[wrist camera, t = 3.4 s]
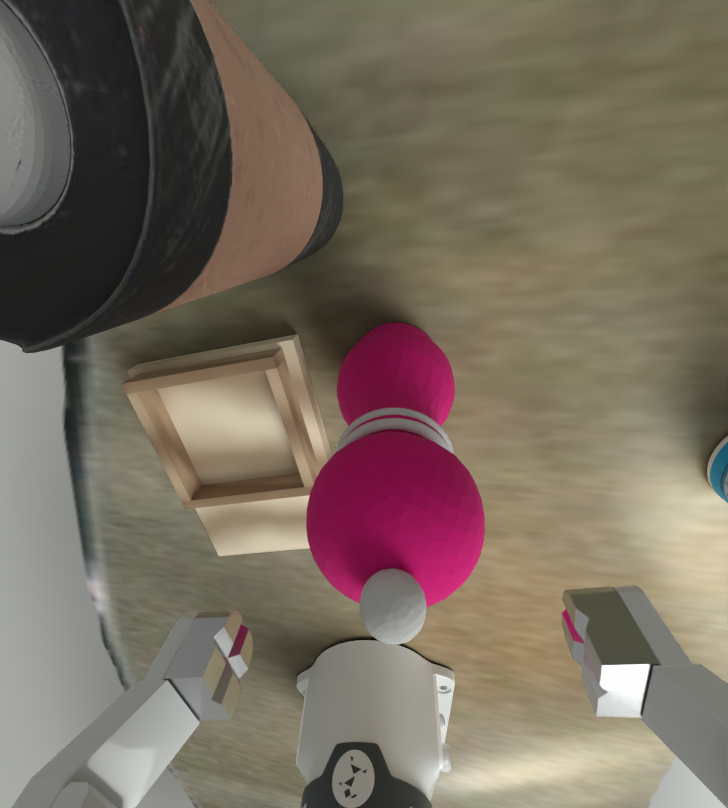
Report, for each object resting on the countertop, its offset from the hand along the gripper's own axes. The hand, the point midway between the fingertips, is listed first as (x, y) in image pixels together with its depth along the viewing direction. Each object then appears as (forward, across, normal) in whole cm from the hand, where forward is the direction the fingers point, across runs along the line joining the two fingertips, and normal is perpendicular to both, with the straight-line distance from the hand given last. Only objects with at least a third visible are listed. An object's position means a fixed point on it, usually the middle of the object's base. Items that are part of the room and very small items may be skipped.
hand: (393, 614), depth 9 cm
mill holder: (+19, -13, -6) cm, 24 cm away
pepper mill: (+20, 0, 0) cm, 20 cm away
